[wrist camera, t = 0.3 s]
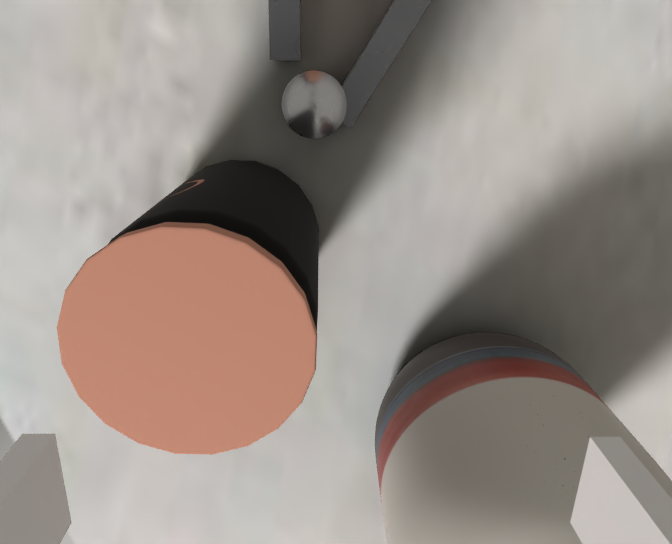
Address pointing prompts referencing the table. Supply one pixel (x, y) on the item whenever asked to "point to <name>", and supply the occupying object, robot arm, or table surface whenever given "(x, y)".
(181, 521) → the table surface
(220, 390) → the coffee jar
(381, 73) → the grey long bar
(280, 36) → the tongs fixed arm
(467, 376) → the vase
